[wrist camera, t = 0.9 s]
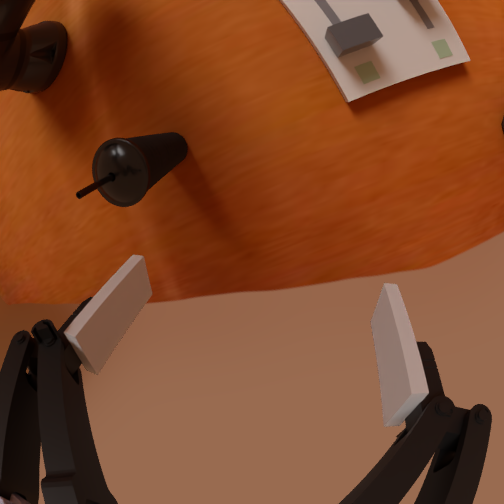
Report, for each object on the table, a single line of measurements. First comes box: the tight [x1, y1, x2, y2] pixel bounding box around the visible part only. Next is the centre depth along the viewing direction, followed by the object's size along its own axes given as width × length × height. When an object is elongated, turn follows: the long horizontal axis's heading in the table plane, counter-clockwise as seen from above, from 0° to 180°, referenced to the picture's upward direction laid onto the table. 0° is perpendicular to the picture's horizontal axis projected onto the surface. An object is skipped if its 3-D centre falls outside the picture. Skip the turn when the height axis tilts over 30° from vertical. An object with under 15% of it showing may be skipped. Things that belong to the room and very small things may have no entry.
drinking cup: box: [76, 132, 187, 207], centre depth 29 cm, size 8×8×20 cm
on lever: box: [324, 13, 383, 58], centre depth 22 cm, size 3×5×5 cm, turn 120°
